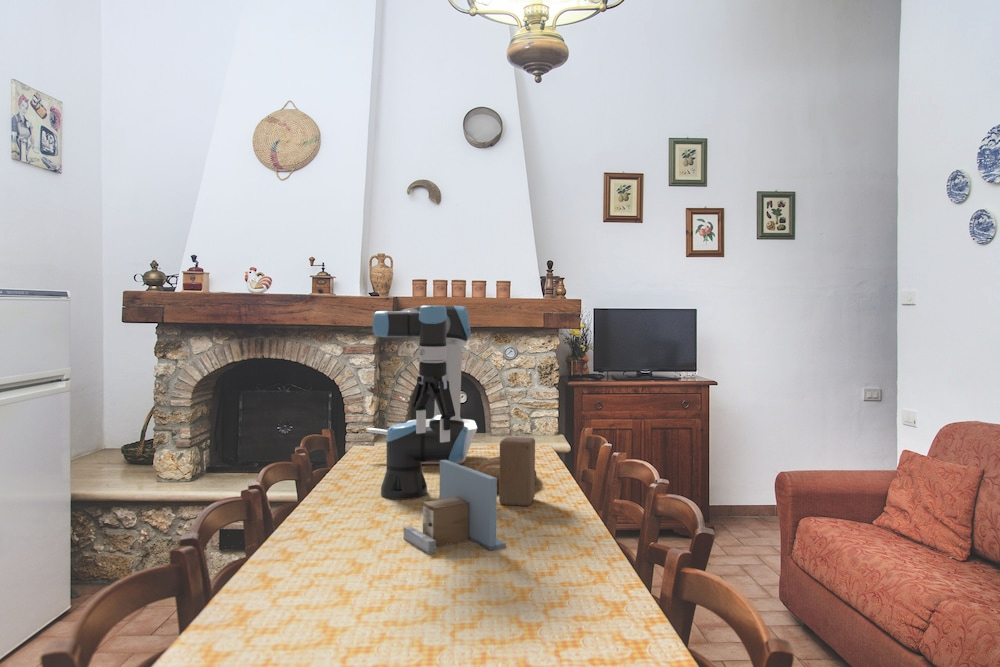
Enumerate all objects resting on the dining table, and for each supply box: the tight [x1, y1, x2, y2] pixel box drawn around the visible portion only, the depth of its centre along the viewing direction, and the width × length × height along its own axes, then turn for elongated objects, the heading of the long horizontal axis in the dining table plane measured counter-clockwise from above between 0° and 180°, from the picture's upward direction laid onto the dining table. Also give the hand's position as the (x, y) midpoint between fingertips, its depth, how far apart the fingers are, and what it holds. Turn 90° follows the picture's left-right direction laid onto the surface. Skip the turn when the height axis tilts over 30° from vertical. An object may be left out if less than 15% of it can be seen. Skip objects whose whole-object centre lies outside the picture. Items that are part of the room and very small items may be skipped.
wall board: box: [438, 460, 507, 551], centre depth 179 cm, size 26×5×18 cm, turn 34°
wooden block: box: [498, 436, 536, 507], centre depth 212 cm, size 10×10×20 cm
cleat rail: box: [403, 525, 437, 555], centre depth 170 cm, size 14×2×3 cm, turn 34°
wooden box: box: [422, 497, 469, 548], centre depth 174 cm, size 6×11×10 cm, turn 124°
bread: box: [475, 456, 537, 495], centre depth 238 cm, size 22×37×8 cm, turn 0°
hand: (432, 437), depth 185 cm, fingers open, 13 cm apart
